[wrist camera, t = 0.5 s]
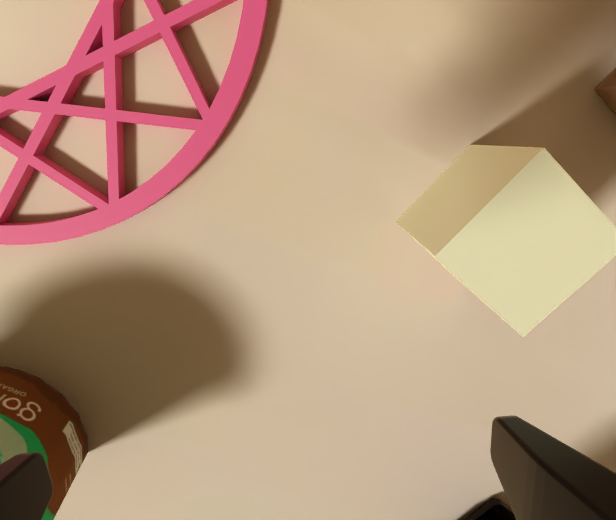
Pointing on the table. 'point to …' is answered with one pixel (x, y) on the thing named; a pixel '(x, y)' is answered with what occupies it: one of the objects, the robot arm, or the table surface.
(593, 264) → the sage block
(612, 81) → the walnut base
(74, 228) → the trivet
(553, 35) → the table surface
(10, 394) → the food container
